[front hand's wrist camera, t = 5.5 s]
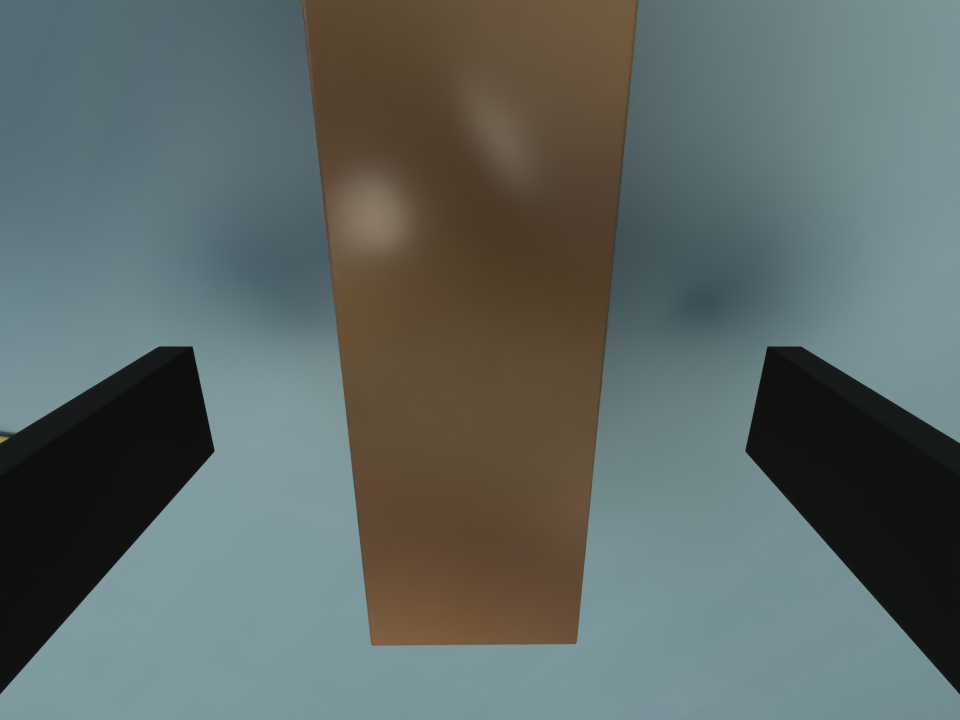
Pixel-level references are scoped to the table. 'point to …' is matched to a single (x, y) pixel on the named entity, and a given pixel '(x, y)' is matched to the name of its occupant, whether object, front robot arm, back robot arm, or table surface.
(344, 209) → the post
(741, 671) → the table surface
